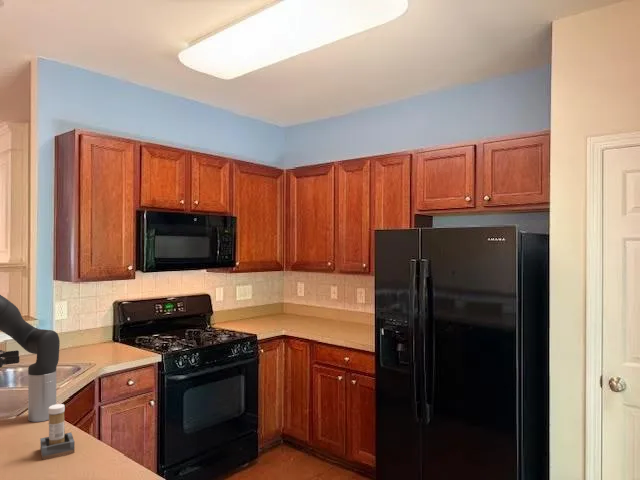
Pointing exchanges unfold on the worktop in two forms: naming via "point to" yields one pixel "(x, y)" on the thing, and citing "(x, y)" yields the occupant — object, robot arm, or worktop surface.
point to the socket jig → (57, 447)
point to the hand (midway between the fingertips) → (19, 356)
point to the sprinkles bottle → (56, 424)
